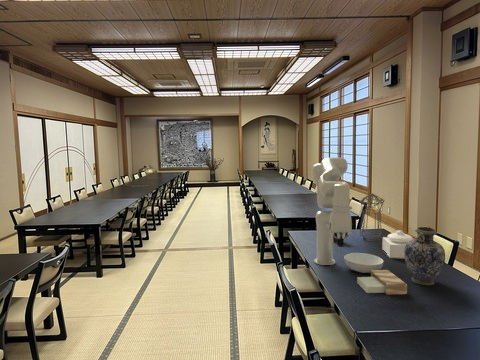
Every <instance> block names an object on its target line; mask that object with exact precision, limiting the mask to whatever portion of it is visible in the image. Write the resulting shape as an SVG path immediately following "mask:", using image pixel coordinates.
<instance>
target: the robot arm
mask: <svg viewBox="0 0 480 360" xmlns="http://www.w3.org/2000/svg"><path fill="white" fill-rule="evenodd" d="M348 166H349V165H348V161H347V160H346V158H344V157H326V158H323V159H322V160H321V162H320V163H315V164H314V165H313V166H312V177H313V179H314V182H315V186H316V198H317V199H316V202H317V206H318V208H320V209H330V210H319V211H317V212H316V214H315V223H316V224H315V225H316V257H315V258H314V259H313V262H314V263H315V264H317V265H318V266H319V265H320V266H324V265H330V266H333V265H335V264H336V260H335V259H334V257H333V256H334V242H333V235H335V236H336V237H337V243H336V245H337V246H338V247H343V245H344V242H345V241H344V240H345V239H346V238H347V237H348V236H349V235H351V234H352V228H353V227H352V226H353V223H352V221H353V220H352V213H351V210H352V209H353V207H352V206H351V205H350V195H351V193H350V192H351V191H350V190H351V189H350V188H351V186H350V185H349V183H348V182H347V181H338V180H339V179H340V178H341V177H342V176H343V175H344V174H346V172H347V171H348ZM331 209H332V210H331ZM340 233H341V236H340ZM347 235H348V236H347ZM346 236H347V237H346ZM345 237H346V238H345Z"/></svg>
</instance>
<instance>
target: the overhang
mask: <svg viewBox="0 0 480 360" xmlns="http://www.w3.org/2000/svg"><path fill="white" fill-rule="evenodd" d="M370 277H378V278H379V279H380V280H381V281H382V282H384V283H385V284H386V292H385V295H388V296H390V295H407V293H408V284H407V283H406V282H404V281H403V280H402V279H401V278H399V277H398V275H395V274H394V273H393V272H391V271H390V270H389V269H380V270H371V273H370Z"/></svg>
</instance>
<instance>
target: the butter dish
mask: <svg viewBox="0 0 480 360" xmlns="http://www.w3.org/2000/svg"><path fill="white" fill-rule="evenodd" d="M413 239H414V238H413V236H411V235H409V234H406V233H404V231H403V230H401V229H398V230H397V231H395V232H392V233H389V234H387V236H386V237H385V236H383V237H382V243H381V246H382V247H381V249H382V251H383V250H384V251H385V252H386V253H387V254H386V253H385V252H384V251H383V252H384V253H385V254H386V255H387V257H389V259H405V256H404V250H405V246H406V244H407V243H408V242H409V241H411V240H413Z"/></svg>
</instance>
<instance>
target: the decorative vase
mask: <svg viewBox="0 0 480 360" xmlns="http://www.w3.org/2000/svg"><path fill="white" fill-rule="evenodd" d="M415 233H417V238H413V240H411V241H409V242H408V243H407V244H406V246H405V250H404V256H405V258H404V260H405V265H406V269H407V271H408V272H409V273H410V274H411V275H412V277H411V281H412V283H415V284H417V285H422V286H429V287H430V286H433V285H435V280H434V279H435V278H436V277H437V276H439V275H440V273H441V272H442V270H443V268H444V265H445V262H446V250H445V248H444V247H443V245H442V244H440V243H439V242H437V241H435V240H434V239H435V238H434V236H435V235H438V233H437V231H436V230H435V229H434V228H432V227H430V226H427V227H425V226H422V227H421V226H420V227H419V226H418V228H417V229H415Z"/></svg>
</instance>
